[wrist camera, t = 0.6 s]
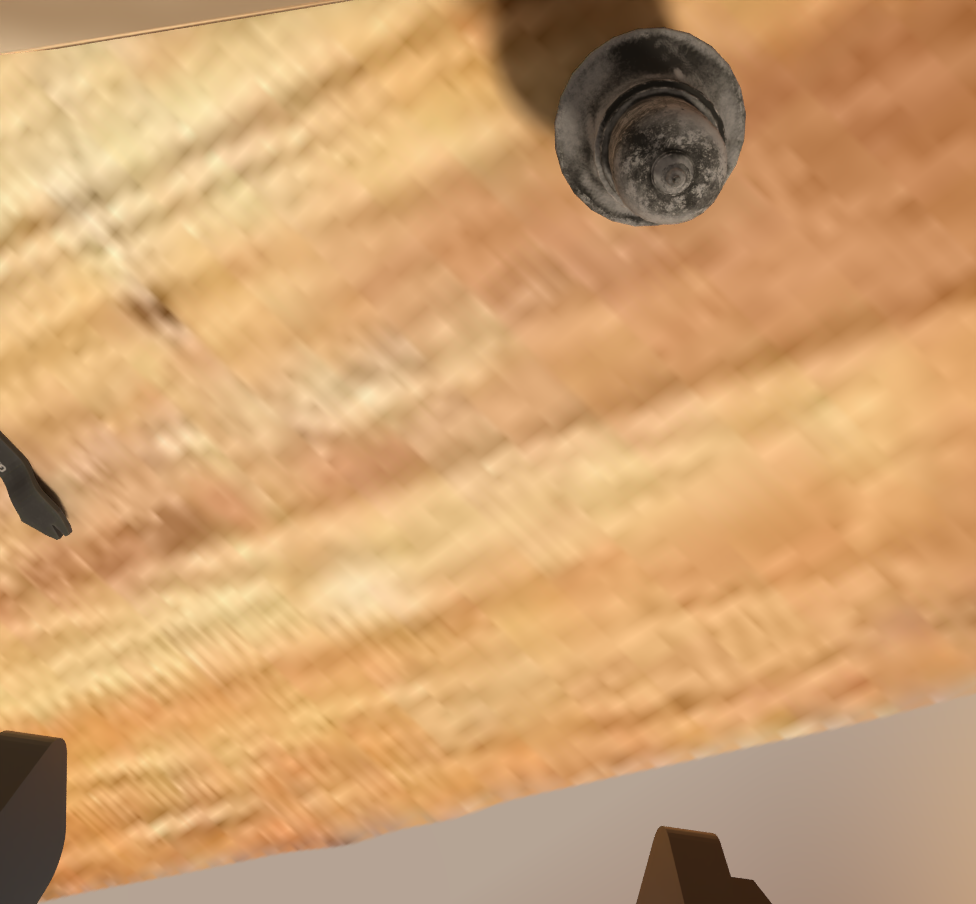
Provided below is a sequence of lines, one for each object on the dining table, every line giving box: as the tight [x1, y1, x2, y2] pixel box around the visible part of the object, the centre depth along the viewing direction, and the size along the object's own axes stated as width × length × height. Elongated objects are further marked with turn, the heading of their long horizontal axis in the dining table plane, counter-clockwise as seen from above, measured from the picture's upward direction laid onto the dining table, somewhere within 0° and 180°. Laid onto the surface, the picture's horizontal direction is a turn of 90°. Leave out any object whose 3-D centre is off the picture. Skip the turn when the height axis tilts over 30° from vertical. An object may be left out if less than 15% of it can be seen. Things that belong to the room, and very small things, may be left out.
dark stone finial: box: [555, 27, 746, 226], centre depth 26 cm, size 6×6×12 cm
